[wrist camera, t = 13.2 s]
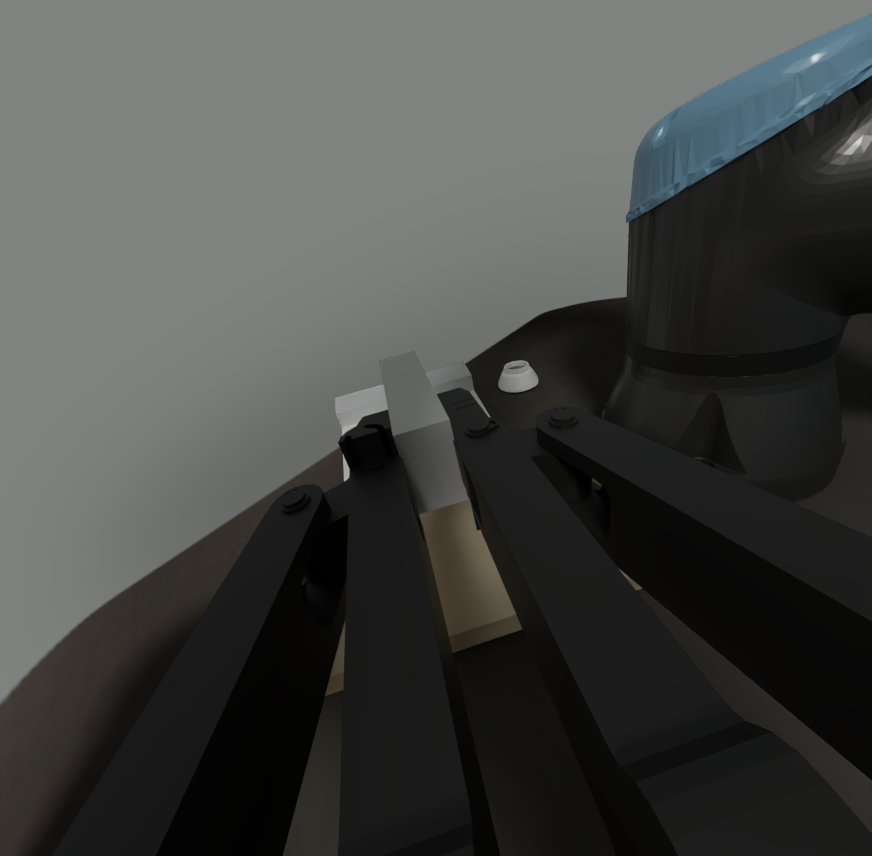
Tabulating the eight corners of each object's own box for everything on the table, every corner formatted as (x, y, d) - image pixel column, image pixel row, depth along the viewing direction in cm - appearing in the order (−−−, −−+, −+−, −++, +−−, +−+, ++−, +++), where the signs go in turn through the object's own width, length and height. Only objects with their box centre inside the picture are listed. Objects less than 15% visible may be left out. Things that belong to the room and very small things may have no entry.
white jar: (544, 378, 47) (508, 377, 50) (542, 357, 46) (505, 357, 48) (530, 396, 44) (492, 394, 46) (527, 374, 42) (489, 372, 45)
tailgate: (516, 469, 30) (466, 384, 40) (515, 442, 28) (463, 361, 39) (350, 520, 29) (345, 420, 40) (337, 496, 27) (335, 397, 38)
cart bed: (559, 465, 31) (556, 420, 29) (664, 581, 20) (672, 524, 18) (309, 542, 30) (286, 501, 28) (282, 710, 19) (242, 665, 17)
